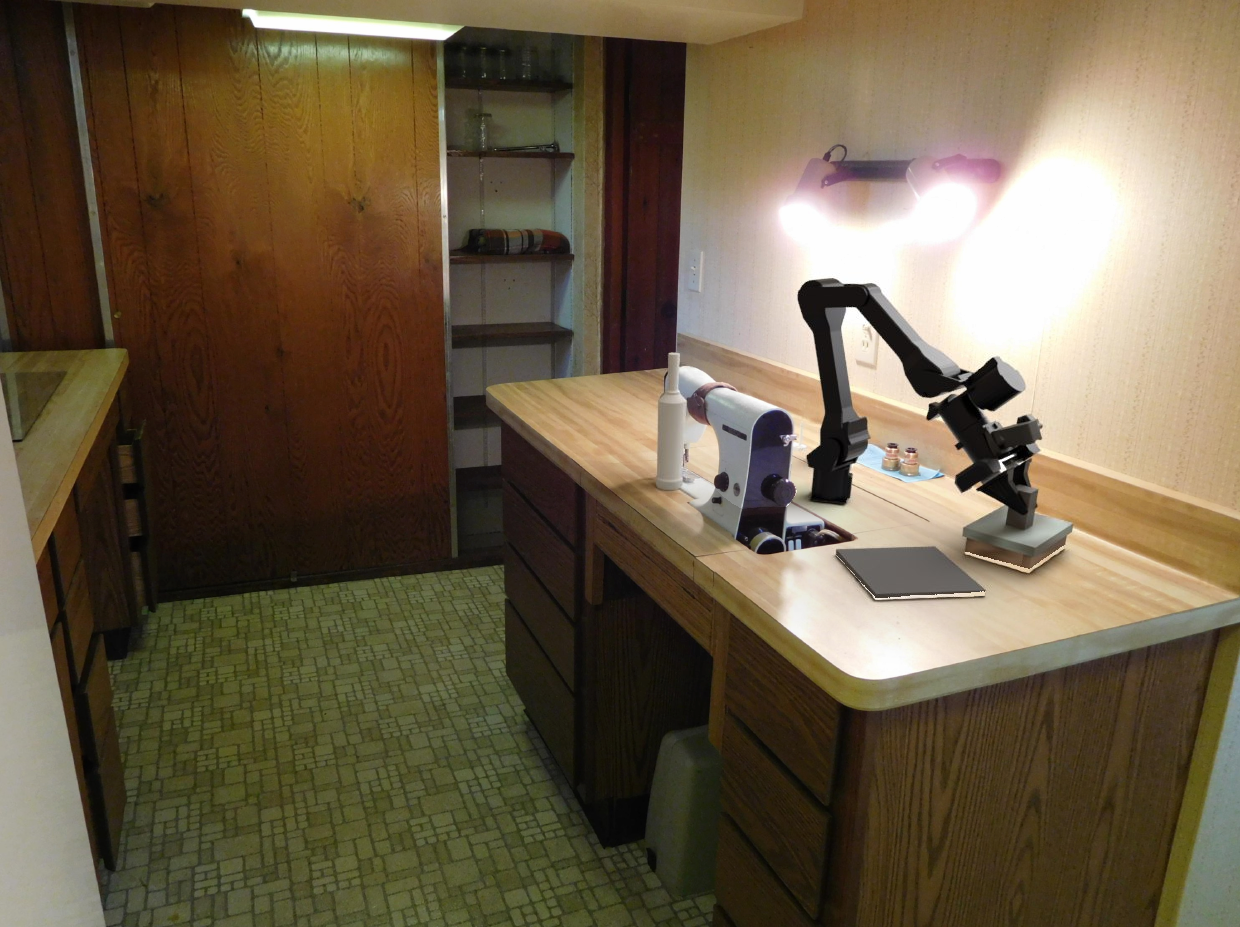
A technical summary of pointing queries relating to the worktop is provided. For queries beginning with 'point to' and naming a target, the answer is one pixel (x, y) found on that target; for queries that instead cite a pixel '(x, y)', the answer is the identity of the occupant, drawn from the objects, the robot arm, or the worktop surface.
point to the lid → (1019, 527)
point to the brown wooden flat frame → (1010, 553)
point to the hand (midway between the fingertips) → (1030, 511)
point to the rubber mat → (907, 571)
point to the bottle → (671, 430)
